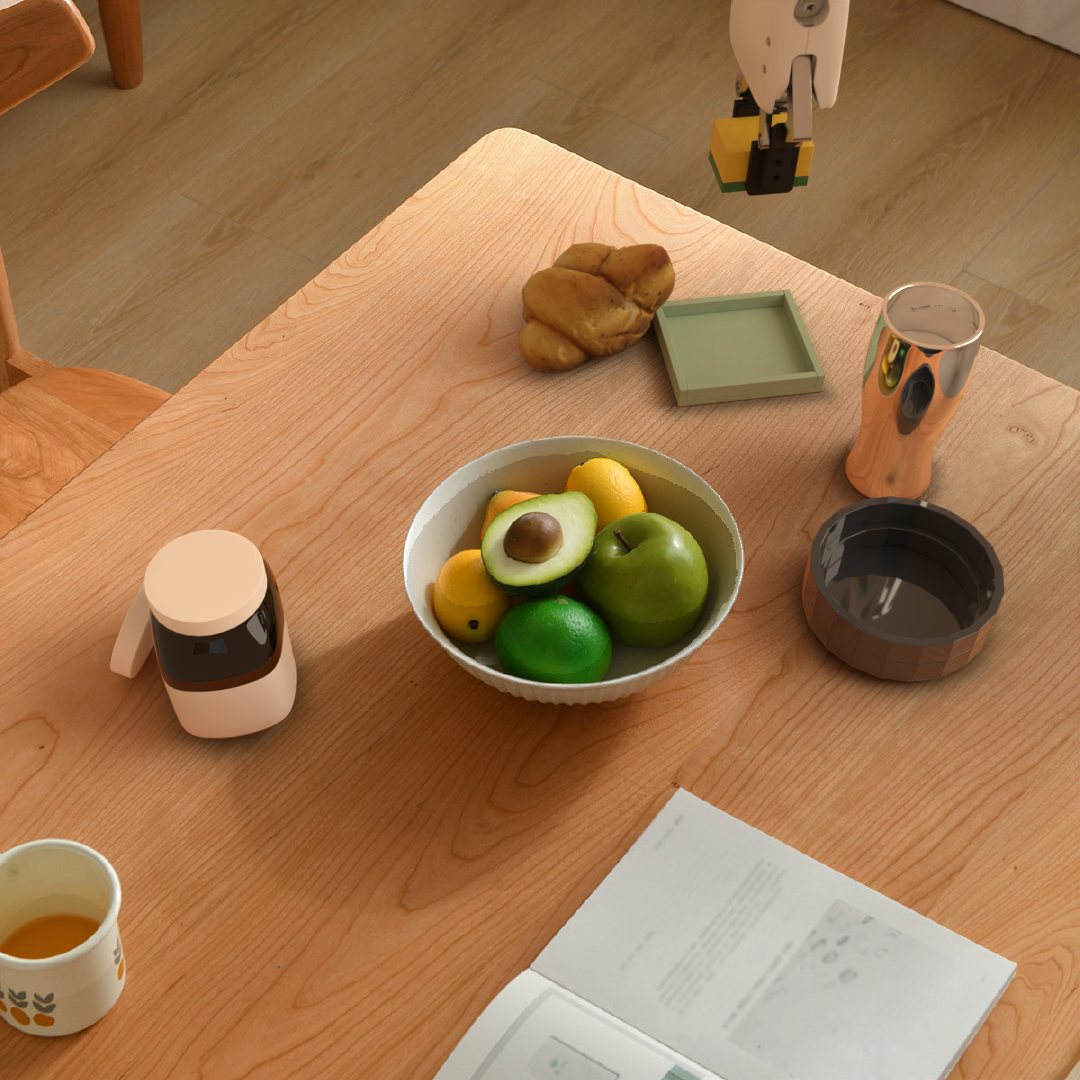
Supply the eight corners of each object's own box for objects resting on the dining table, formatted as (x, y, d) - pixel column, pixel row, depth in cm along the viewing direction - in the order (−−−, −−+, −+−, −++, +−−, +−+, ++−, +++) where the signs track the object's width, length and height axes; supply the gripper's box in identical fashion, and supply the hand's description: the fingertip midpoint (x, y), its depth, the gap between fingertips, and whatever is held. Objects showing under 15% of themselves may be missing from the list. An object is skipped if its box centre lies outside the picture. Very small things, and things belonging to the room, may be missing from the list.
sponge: (791, 152, 95) (798, 111, 93) (807, 186, 92) (814, 145, 90) (708, 159, 94) (713, 118, 92) (721, 193, 92) (726, 153, 89)
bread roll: (555, 403, 103) (556, 323, 97) (480, 335, 108) (476, 254, 102) (682, 333, 108) (691, 253, 102) (604, 272, 113) (608, 191, 107)
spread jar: (306, 744, 84) (278, 633, 75) (119, 776, 82) (68, 667, 73) (290, 592, 91) (262, 475, 82) (118, 620, 90) (71, 504, 81)
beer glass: (830, 495, 97) (869, 336, 85) (848, 429, 101) (887, 269, 89) (928, 519, 95) (981, 360, 84) (942, 451, 100) (994, 291, 88)
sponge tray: (786, 305, 110) (789, 288, 109) (821, 391, 104) (825, 375, 102) (651, 318, 109) (652, 302, 108) (678, 407, 103) (680, 390, 101)
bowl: (949, 530, 95) (965, 487, 91) (1014, 674, 87) (1033, 632, 83) (780, 550, 94) (789, 507, 90) (829, 697, 86) (841, 656, 82)
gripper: (907, -28, 74) (847, 242, 88) (822, -161, 85) (780, 99, 99) (774, -18, 74) (735, 252, 88) (705, -154, 84) (680, 107, 98)
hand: (759, 168), depth 93 cm, fingers closed on sponge, 4 cm apart
